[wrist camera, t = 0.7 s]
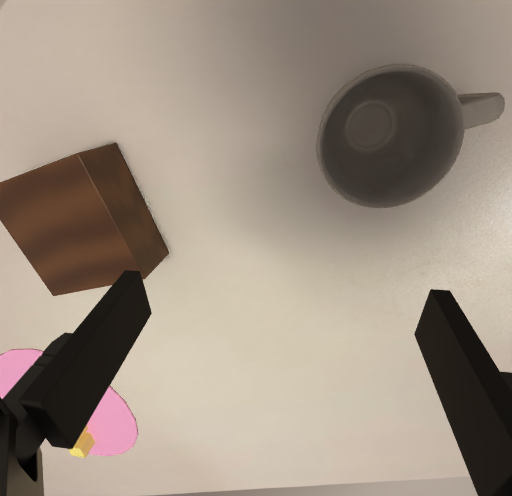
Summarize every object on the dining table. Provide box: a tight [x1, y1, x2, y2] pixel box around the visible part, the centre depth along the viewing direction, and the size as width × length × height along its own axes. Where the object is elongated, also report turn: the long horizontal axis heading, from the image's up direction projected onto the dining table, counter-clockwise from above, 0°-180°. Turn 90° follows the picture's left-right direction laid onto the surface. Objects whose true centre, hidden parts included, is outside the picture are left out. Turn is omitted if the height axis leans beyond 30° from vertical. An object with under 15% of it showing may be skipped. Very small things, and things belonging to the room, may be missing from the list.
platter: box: [0, 349, 138, 458], centre depth 61 cm, size 32×32×3 cm
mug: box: [317, 64, 505, 208], centre depth 23 cm, size 12×9×10 cm
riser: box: [0, 143, 169, 296], centre depth 36 cm, size 14×14×6 cm
